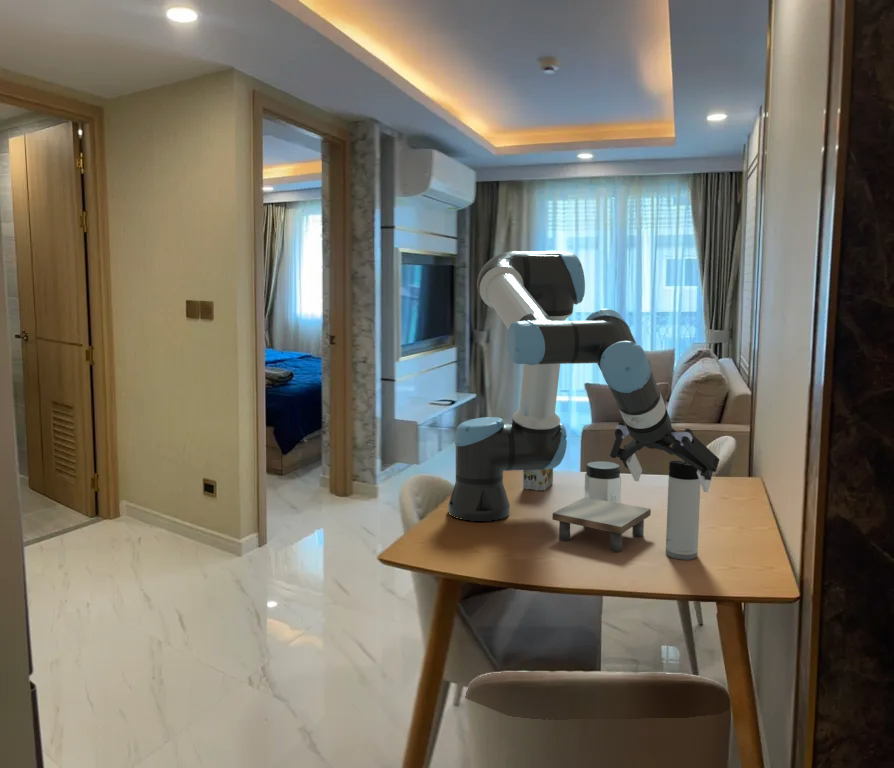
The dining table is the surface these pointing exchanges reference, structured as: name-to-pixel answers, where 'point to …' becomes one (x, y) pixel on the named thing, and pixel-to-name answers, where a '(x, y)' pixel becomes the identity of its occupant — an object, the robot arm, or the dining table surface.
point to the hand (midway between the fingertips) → (672, 480)
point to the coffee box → (537, 479)
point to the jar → (603, 481)
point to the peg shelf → (602, 519)
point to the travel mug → (682, 511)
